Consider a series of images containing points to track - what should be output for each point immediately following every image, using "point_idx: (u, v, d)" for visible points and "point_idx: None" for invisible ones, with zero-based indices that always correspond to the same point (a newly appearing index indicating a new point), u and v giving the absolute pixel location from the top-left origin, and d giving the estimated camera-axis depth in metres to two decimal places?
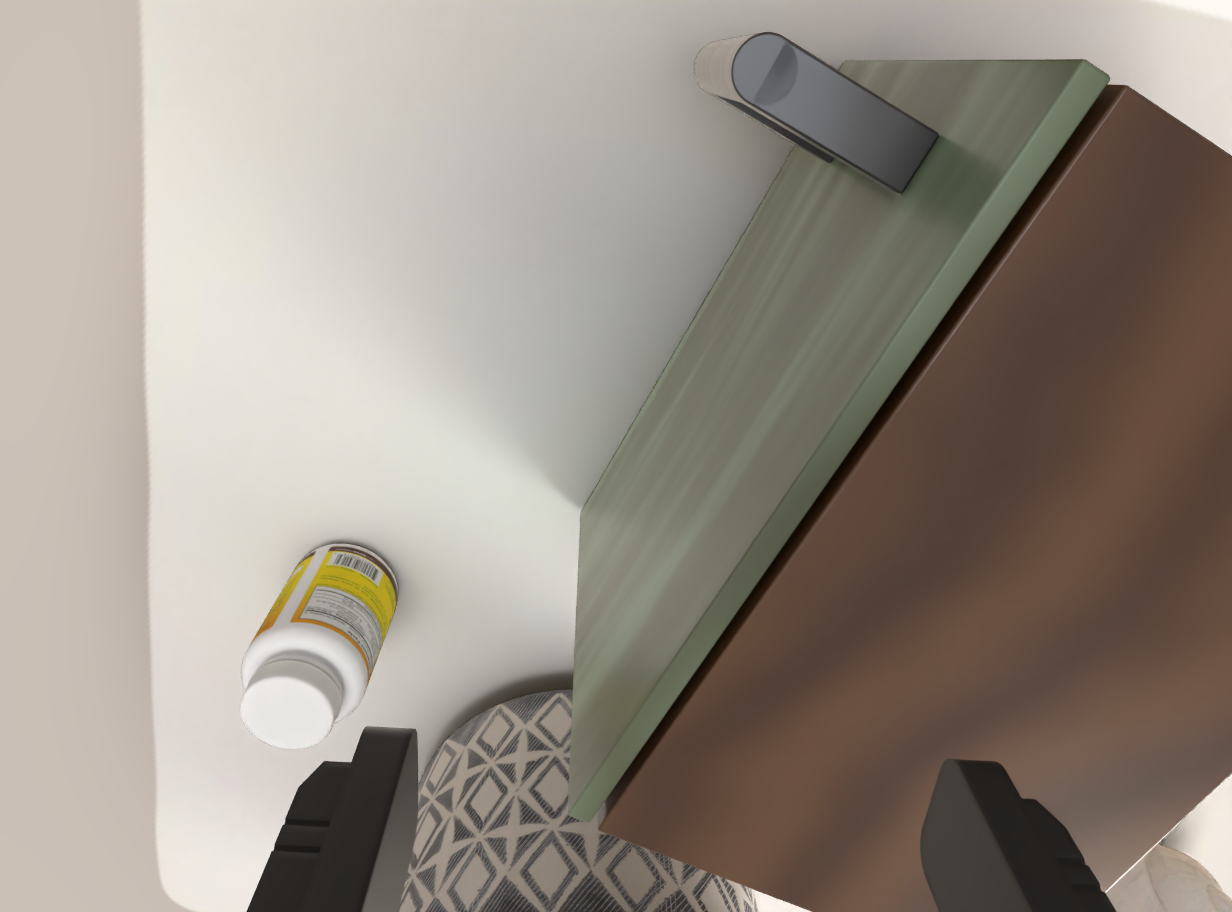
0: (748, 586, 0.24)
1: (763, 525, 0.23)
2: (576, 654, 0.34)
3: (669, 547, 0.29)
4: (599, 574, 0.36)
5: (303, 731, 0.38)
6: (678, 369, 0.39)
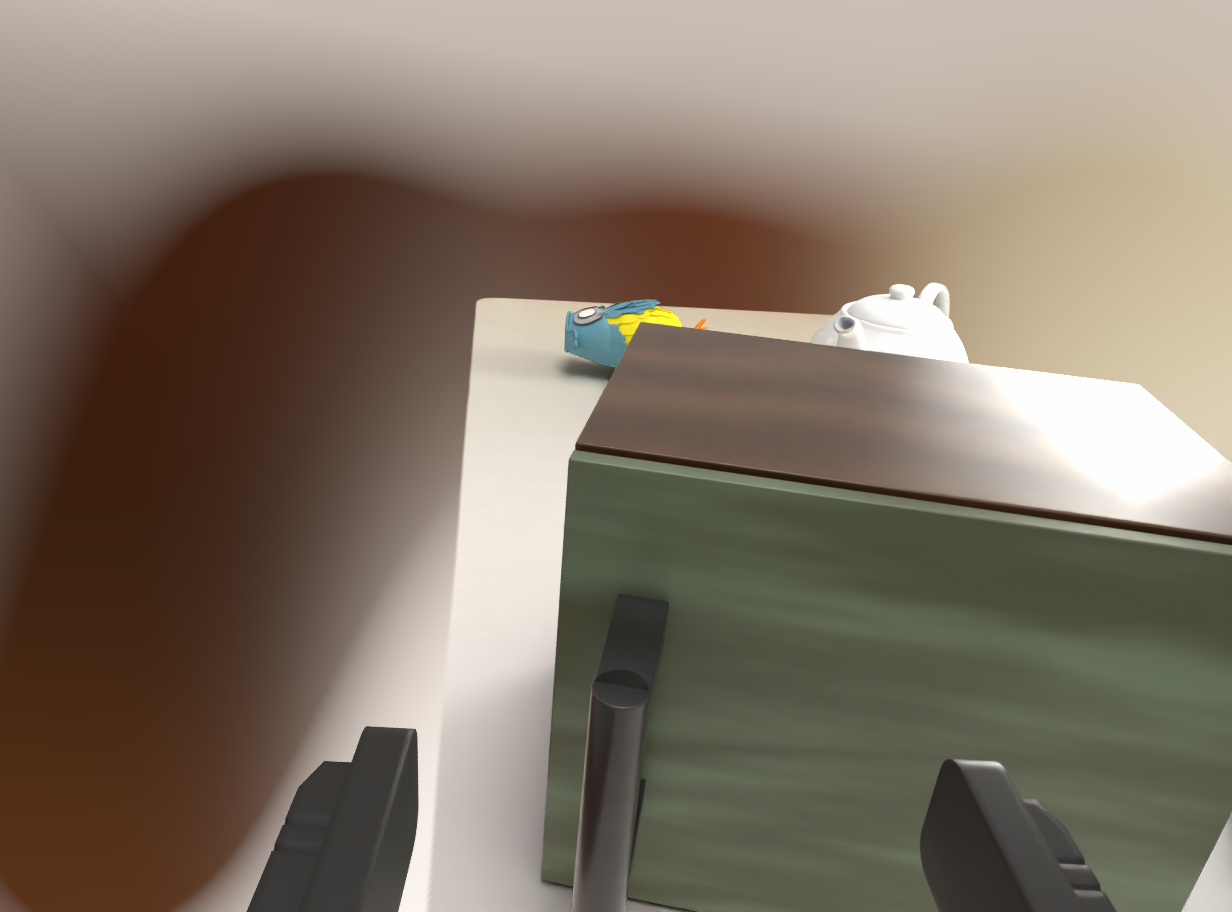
0: (1014, 515, 0.28)
1: (961, 517, 0.27)
2: None
3: (1052, 676, 0.29)
4: (1155, 824, 0.31)
5: None
6: (897, 906, 0.34)
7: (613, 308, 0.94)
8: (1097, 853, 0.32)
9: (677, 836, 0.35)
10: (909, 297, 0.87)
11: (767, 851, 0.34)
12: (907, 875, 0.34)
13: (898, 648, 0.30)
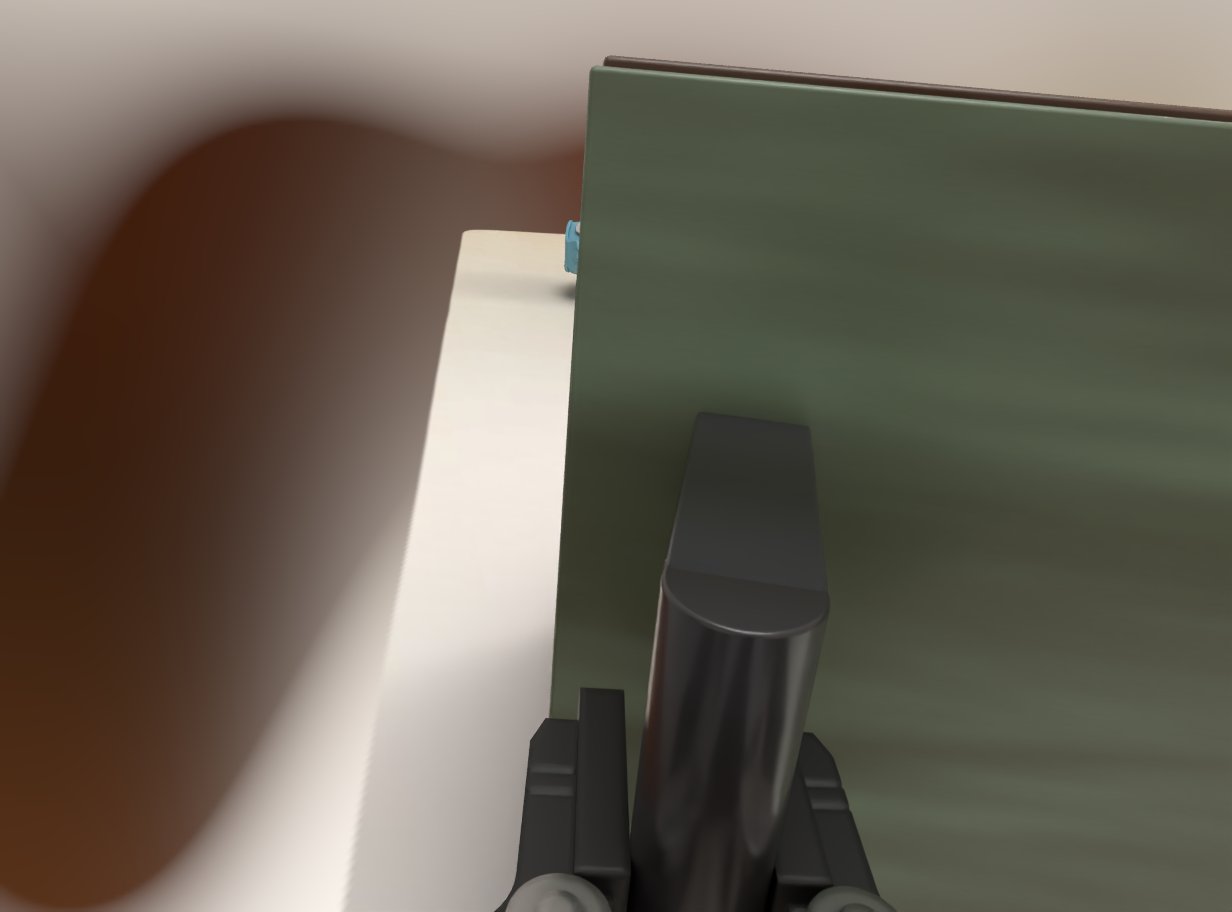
0: None
1: None
2: None
3: None
4: None
5: None
6: None
7: None
8: None
9: None
10: None
11: None
12: None
13: None
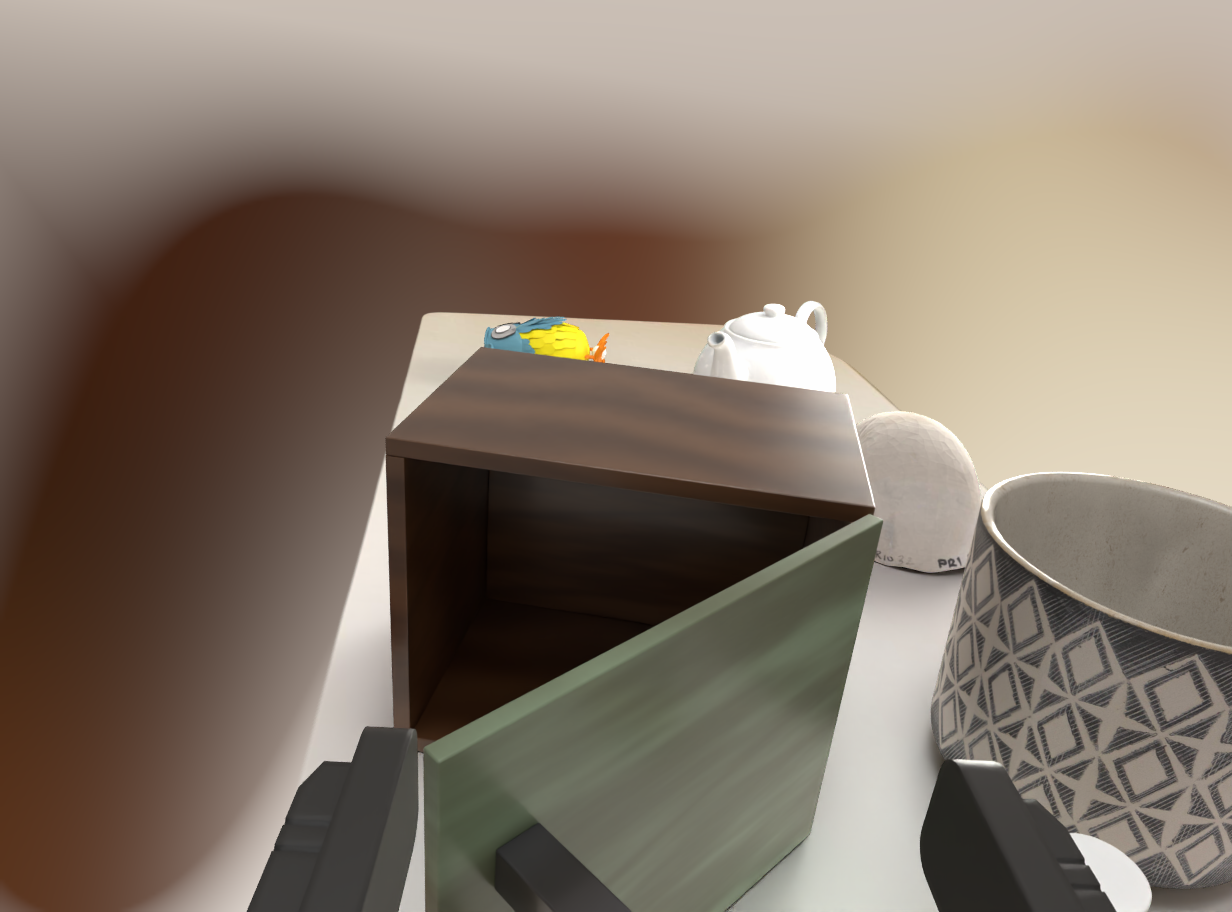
0: (743, 583, 0.34)
1: (726, 607, 0.33)
2: (849, 658, 0.43)
3: (772, 676, 0.38)
4: (816, 724, 0.43)
5: (1102, 854, 0.36)
6: (700, 902, 0.41)
7: (526, 324, 1.07)
8: (793, 766, 0.43)
9: None
10: (780, 315, 1.01)
11: None
12: (704, 876, 0.40)
13: (695, 725, 0.34)
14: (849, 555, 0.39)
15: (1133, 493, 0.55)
